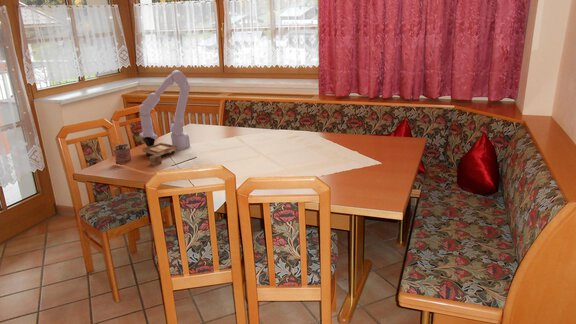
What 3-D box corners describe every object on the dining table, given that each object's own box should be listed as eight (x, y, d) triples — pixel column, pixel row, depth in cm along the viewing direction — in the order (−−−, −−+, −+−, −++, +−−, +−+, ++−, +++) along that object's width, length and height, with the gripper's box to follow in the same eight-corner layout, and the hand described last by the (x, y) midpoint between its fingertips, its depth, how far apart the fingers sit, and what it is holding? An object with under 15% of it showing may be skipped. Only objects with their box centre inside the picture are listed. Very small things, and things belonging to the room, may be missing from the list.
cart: (162, 149, 247) (160, 142, 245) (177, 153, 238) (176, 145, 237) (143, 155, 238) (142, 148, 237) (159, 159, 229) (157, 151, 228)
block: (157, 163, 226) (155, 154, 224) (161, 165, 224) (160, 155, 222) (150, 166, 223) (149, 156, 222) (155, 167, 221) (153, 157, 219)
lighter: (115, 164, 229) (112, 146, 225) (116, 162, 232) (112, 144, 229) (131, 162, 231) (128, 144, 227) (132, 160, 234) (129, 142, 231)
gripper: (133, 126, 240) (137, 150, 244) (148, 129, 231) (152, 153, 235) (144, 123, 245) (148, 146, 249) (159, 126, 236) (163, 150, 241)
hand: (151, 150), depth 243 cm, fingers closed
